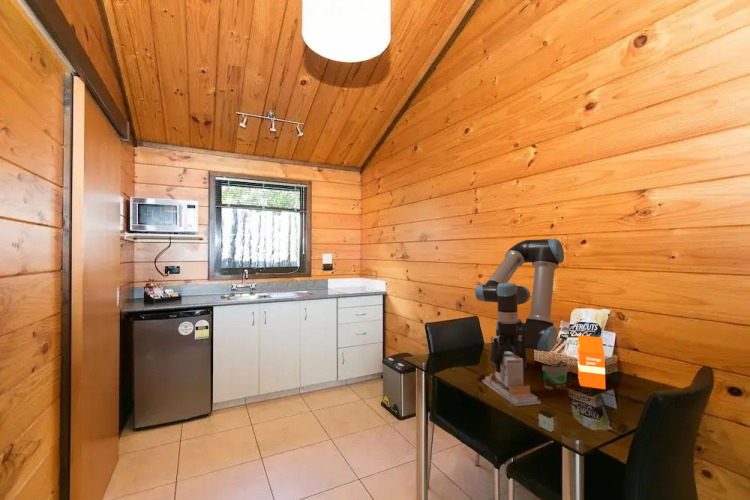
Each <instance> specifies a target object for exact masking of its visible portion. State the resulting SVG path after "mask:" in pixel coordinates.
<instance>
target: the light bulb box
mask: <svg viewBox="0 0 750 500" xmlns="http://www.w3.org/2000/svg"><path fill="white" fill-rule="evenodd" d="M497 353H498V352H497ZM501 364H502V365H503V382H502V383H503V384H504V385H505V386H506V387H510V386H521V385H524V370H523V359H522V358H520V357H519V356H517V355H515V354H513V353H512V352H510V351H508V352H504V355H503V358H502V362H501ZM495 365H496V364H495ZM495 373H496V378H497V379H498V372H496V371H495ZM499 381H500V380H499ZM500 382H501V381H500Z"/></svg>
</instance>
